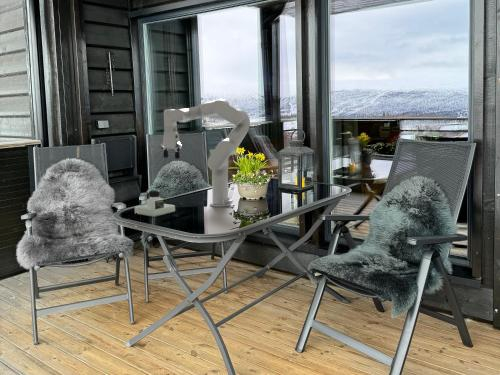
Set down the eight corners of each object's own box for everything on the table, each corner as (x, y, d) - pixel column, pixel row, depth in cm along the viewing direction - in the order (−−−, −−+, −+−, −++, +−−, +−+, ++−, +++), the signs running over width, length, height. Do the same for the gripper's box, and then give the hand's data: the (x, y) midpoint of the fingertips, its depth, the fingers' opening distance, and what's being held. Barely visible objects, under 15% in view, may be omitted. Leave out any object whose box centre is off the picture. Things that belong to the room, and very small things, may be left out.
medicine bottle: (155, 213, 290) (154, 192, 288) (146, 211, 294) (145, 191, 292) (164, 210, 296) (163, 190, 294) (155, 209, 299) (154, 189, 297)
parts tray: (175, 211, 296) (174, 205, 296) (154, 216, 284) (154, 210, 283) (155, 208, 306) (155, 202, 305) (134, 213, 293) (134, 207, 292)
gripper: (185, 129, 311) (186, 158, 314) (164, 129, 321) (165, 156, 324) (176, 130, 305) (177, 159, 308) (156, 129, 315) (157, 157, 318)
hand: (171, 157), depth 316 cm, fingers open, 9 cm apart
